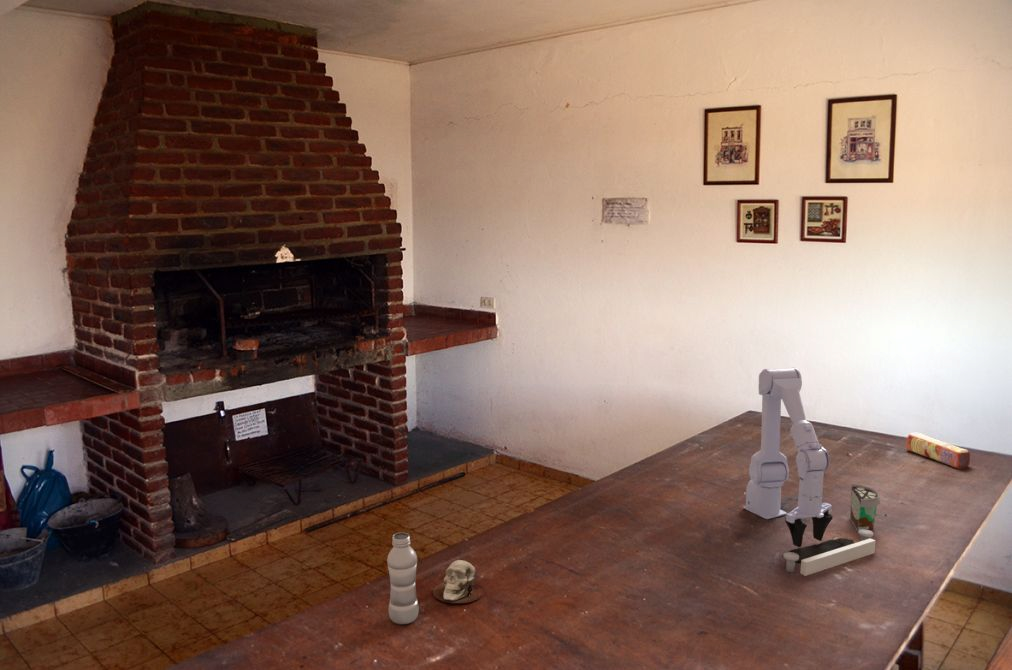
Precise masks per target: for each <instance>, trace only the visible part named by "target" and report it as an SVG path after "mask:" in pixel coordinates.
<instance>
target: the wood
mask: <svg viewBox="0 0 1012 670" xmlns="http://www.w3.org/2000/svg"><path fill="white" fill-rule="evenodd" d="M854 543H855V542H854V539H849V538H846V537H845V538H844V537H843V538H842V537H840V538H835V539H834V538H832V539H829V540H825V541H823V542H820V543H817V544H813V545H807V546H801V547H797V548H794V549H790V550H788V551H786V552H793V553H796V554H798V555H799V560H797V561H795V564H798V565H799V564H800V565H801V560H803V559H806V558H809V557H813V556H816V555H819V554H822V553H825V552H829V551H832V550H835V549H838V548H841V547H844V546H848V545H851V544H854ZM786 552H784V553H786ZM783 555H784V554H782V557H783Z"/></svg>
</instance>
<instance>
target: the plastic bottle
mask: <svg viewBox="0 0 1012 670" xmlns="http://www.w3.org/2000/svg"><path fill="white" fill-rule="evenodd" d="M391 544H392V546H393V547H392V548H391V549H390V550H389V551H390V552H389V553H388V555H387V559H386V561H387V562H386V563H387V569H388V574H389V581H390V582H389V583H390V595H389V596H390V597H389V603H388V615H389V619H390V620H391V621H392V623H395V624H397V625H408V624H411V623H413V622H414V621H416V619H417V617H418V616H419V611H420V607H419V602H418V601H419V600H418V597H417V588H416V578H417V577H416V575H417V574H416V573H417V567H418V566H417V565H418V555H417V552H416V551H415V550H414V548H412V547H411V546H410V545H411V537H410V533H407V532H397V533H394V534H392V543H391Z"/></svg>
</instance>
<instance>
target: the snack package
mask: <svg viewBox="0 0 1012 670" xmlns="http://www.w3.org/2000/svg"><path fill="white" fill-rule="evenodd" d="M905 448H906V450H907V451H909V452H912V453H915V454H918V455H920V456H923V457H926V458H929V459H932V460H935V461H937V462H940V463H942V464H944V465H947V466H949V467H950V466H951V467H953V468H954V469H958V470H959V469H964V468H967V467H968V466H969V465H970V461H971V460H970V459H971V453H970V451H969V450H968V449H966V448H962V447H960V446H959V447H958V446H956V445H953V444H951V443H948V442H945V441H942V440H939V439H936V438H933V437H931V436H927V435H926V434H923V433H921V432H917V431H915V432H911V433H909V434H908V436H907V438H906V443H905Z"/></svg>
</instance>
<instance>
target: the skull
mask: <svg viewBox="0 0 1012 670" xmlns="http://www.w3.org/2000/svg"><path fill="white" fill-rule="evenodd" d="M476 579H477V571H476V567H475V566H473V565H472V563H471V562H468V561H466V560H461V559H456V560H454V561H453V562H452V563H451V564H450V565H449V566H448V567H447V569H446V570H445V577H444V578H443V582H442V583H439V584H437V585H435V587H433V589H432V595H433V596H434V597H435V598H436V599H437V600H439V601H441V602H444V603H449V604H465V603H466V604H467V603H473V602H474V601H475V600H476V601H478V600H479V599H480V598H481V597H482V596H481V595H480V596H479V595H478V596H479V597H478V596H477V595H475V594H472V595H471V593H470V592H471V591H472V587H474V585H475V584H476ZM444 582H445V583H446V584H444ZM469 594H470V595H471V596H469ZM476 596H477V597H476ZM476 601H475V602H476Z"/></svg>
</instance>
